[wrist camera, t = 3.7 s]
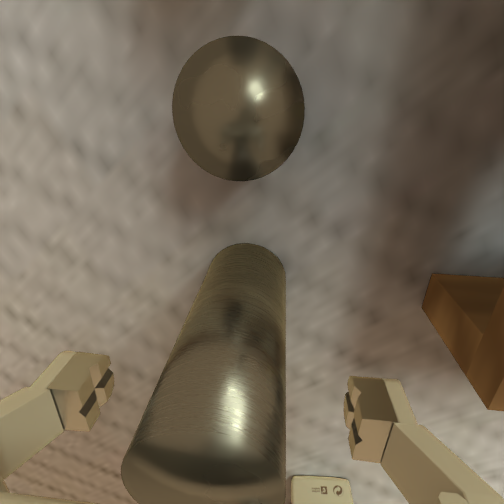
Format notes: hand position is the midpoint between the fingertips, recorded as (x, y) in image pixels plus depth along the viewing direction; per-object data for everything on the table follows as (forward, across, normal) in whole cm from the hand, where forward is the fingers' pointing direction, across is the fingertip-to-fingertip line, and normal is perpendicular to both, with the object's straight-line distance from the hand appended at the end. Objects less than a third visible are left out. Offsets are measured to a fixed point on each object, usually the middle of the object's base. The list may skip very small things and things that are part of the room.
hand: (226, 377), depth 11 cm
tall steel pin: (+6, 0, 0) cm, 7 cm away
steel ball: (+6, 0, -8) cm, 10 cm away
